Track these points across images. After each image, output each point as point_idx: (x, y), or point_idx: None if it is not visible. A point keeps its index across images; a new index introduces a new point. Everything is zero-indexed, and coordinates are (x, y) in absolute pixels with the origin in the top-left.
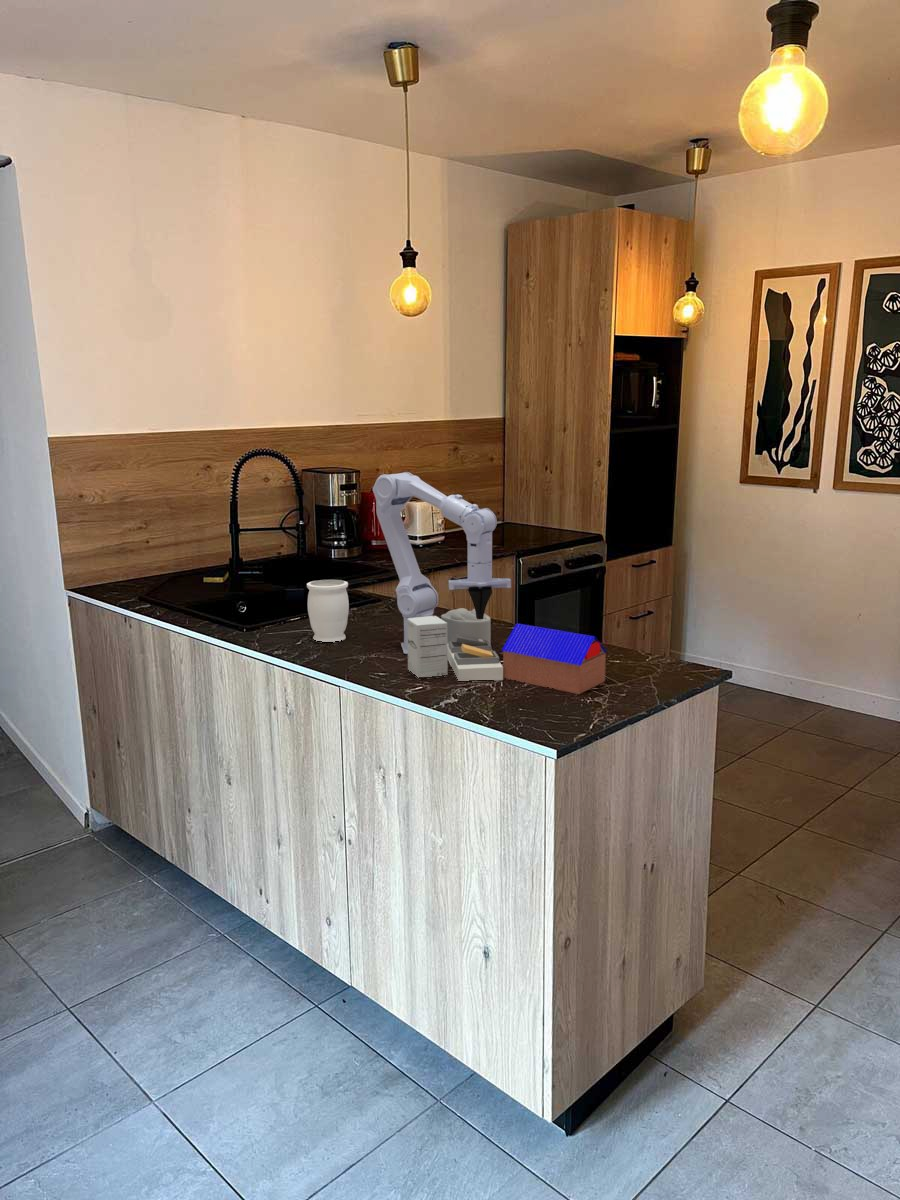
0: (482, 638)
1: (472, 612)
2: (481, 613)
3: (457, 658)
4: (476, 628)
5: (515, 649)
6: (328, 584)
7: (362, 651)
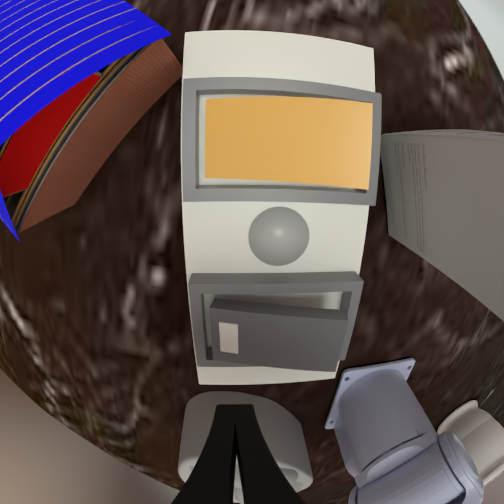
0: (206, 415)
1: None
2: (229, 430)
3: (380, 107)
4: None
5: (107, 6)
6: None
7: (459, 370)
